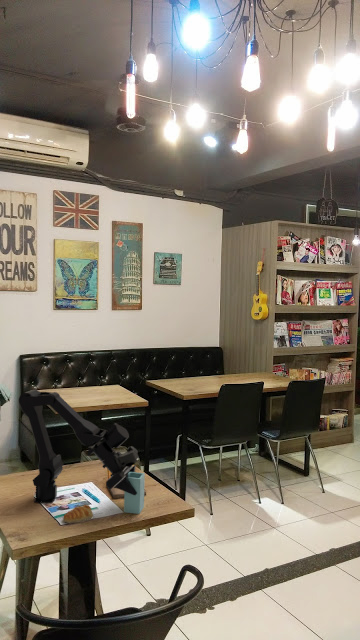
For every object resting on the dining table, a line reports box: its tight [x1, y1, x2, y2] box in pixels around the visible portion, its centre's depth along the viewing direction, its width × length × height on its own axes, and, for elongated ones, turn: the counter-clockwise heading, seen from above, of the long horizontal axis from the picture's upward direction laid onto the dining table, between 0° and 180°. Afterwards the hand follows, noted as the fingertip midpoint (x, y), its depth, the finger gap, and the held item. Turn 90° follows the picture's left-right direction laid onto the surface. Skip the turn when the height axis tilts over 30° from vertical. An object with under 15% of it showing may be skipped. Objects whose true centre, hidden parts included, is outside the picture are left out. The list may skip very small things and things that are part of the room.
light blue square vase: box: [123, 471, 146, 515], centre depth 167 cm, size 6×6×12 cm
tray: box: [109, 488, 147, 500], centre depth 183 cm, size 12×12×2 cm
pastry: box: [62, 504, 94, 525], centre depth 159 cm, size 9×7×4 cm
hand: (138, 491), depth 167 cm, fingers closed on light blue square vase, 5 cm apart
